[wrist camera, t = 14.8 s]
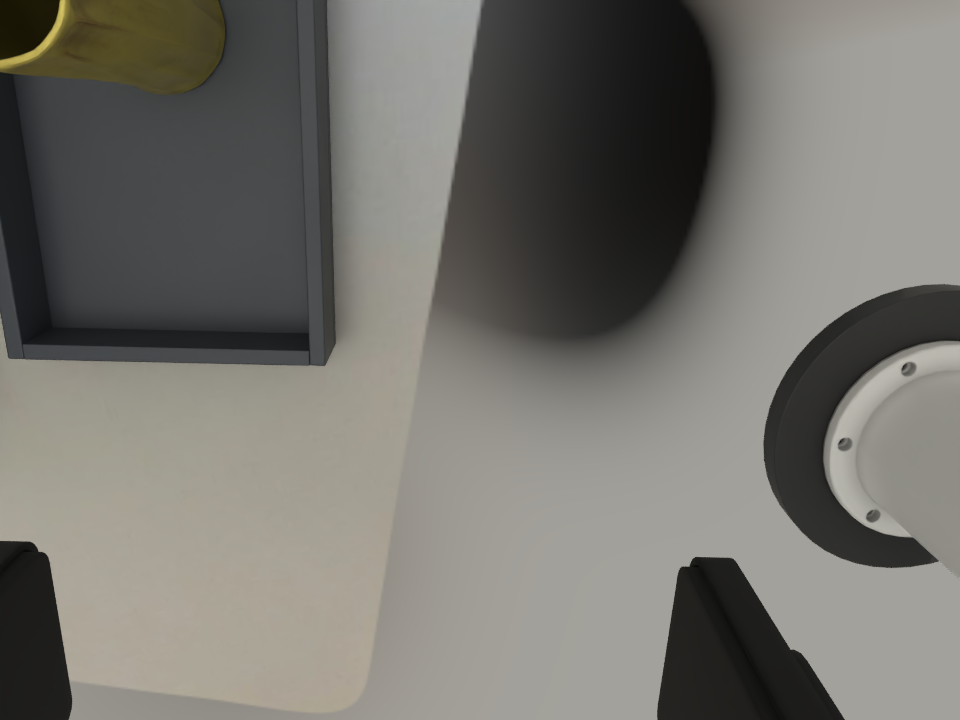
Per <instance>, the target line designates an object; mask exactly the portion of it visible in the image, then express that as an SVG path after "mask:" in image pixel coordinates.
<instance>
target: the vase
mask: <svg viewBox="0 0 960 720" xmlns="http://www.w3.org/2000/svg"><path fill="white" fill-rule="evenodd" d="M224 43H225V23H224V18H223V13H222V10H221V7H220V4H219V2H218V0H0V72H3V73H10V74H19V75H29V76H45V77H59V78H72V79H88V80H97V81H105V82H114V83H120V84H126V85H132V86H135V87H137V88H139V89H141V90H144V91H146V92H150V93H155V94H161V95H175V94H181V93H184V92H187V91H189V90H192V89H194V88H196V87H198V86H199V85H201V84H202V83H203V82H204V81H205V80H206V79H207V78H208V77H209V76H210V74H211V73H212V72H213V71H214V69H215V68H216V66H217V65H218V63H219V61H220V59H221V56H222V53H223V49H224Z"/></svg>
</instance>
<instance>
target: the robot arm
mask: <svg viewBox="0 0 960 720" xmlns="http://www.w3.org/2000/svg"><path fill="white" fill-rule="evenodd" d="M823 465H824V472H825V477H826V480H827V482H828V485H829V487H830V489H831V492H832V493H833V495H834V496H835V498H836V499H837V500H838V502H839V503H840V504H841V506H842V507H843V508H844V509H846V510H847V511H848V512H849V513H850V514H851V515H852V516H853V518H855V519H856V520H858V521H859V522H860V523H862V524H863V525H865V526H866V527H868V528H871V529H873V530H876V531H878V532H881V533H883V534H888V535H894V536H899V537H913V538H915V539H916V540H917V541H918V542H919V543H920V544H921V545H922V546H923V547H924V548H925V549H927V550H928V551H929V552H930V553H931V554H932V555H933V556H934V557H935V558H936V559H937V560H939V561H940V562H941V563H942V564H943V565H944V566H945V567H946V568H947V569H948V570H950V572H952V573H953V574H954V575H955V576H956V577H957V578H958V579H959V580H960V341H948V340H941V341H934V342H928V343H922V344H918V345H915V346H912V347H909V348H906V349H903V350H900V351H899V352H897V353H895V354H893V355H891V356H889V357H887V358H885V359H883V360H882V361H880V362H879V363H877V364H876V365H875V366H873V367H872V368H871V369H869V370H868V371H867V372H865V373H864V374H863V375H862V376H861V377H860V378H859V379H858V380H857V381H856V382H855V383H854V384H853V385H852V386H851V387H850V388H849V389H848V391H847V392H846V394H845V395H844V397H843V398H842V399H841V401H840V402H839V404H838V405H837V407H836V409H835V411H834V413H833V415H832V418H831V420H830V422H829V424H828V428H827V431H826V435H825V439H824V445H823ZM71 708H72V695H71V689H70V683H69V677H68V671H67V665H66V659H65V653H64V647H63V641H62V635H61V628H60V622H59V616H58V610H57V604H56V598H55V592H54V586H53V580H52V574H51V568H50V562H49V559H48V556H47V555H46V554H45V553H43V552H38V549H37V547H36V546H35V544H34V543H31V542H20V541H0V720H68V719H69V716H70V712H71ZM657 718H658V720H845V719H844V718H843V716H842V715H841V713H840V712H839V710H838V708H837V707H836V705H835V704H834V702H833V701H832V699H831V698H830V696H829V694H828V693H827V691H826V690H825V688H824V687H823V685H822V683H821V682H820V680H819V679H818V677H817V675H816V674H815V672H814V671H813V669H812V668H811V666H810V664H809V663H808V661H807V660H806V659H805V658H804V656H803V655H802V654H801V653H799V652H797V651H795V650H790V648H789V647H788V645H787V643H786V642H785V640H784V639H783V637H782V636H781V634H780V632H779V631H778V629H777V627H776V626H775V624H774V622H773V621H772V619H771V617H770V616H769V614H768V613H767V611H766V610H765V608H764V606H763V605H762V603H761V601H760V600H759V598H758V596H757V595H756V593H755V592H754V590H753V588H752V587H751V585H750V584H749V582H748V580H747V579H746V577H745V575H744V574H743V573H742V571H741V569H740V568H739V566H738V564H737V563H736V561H735V560H734V559H732V558H710V557H709V558H708V557H695V558H693V559H692V561H691V564H690V567H681V568H680V570H679V573H678V577H677V584H676V591H675V597H674V604H673V610H672V617H671V623H670V629H669V636H668V643H667V649H666V657H665V663H664V669H663V676H662V682H661V688H660V695H659V701H658V710H657Z"/></svg>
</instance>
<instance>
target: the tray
mask: <svg viewBox="0 0 960 720" xmlns="http://www.w3.org/2000/svg"><path fill="white" fill-rule="evenodd" d="M218 2H219V4H220V7H221V10H222V13H223V18H224V23H225V43H224V49H223V53H222V56H221V59H220V61H219V63H218V65H217V66H216V68H215V69H214V71H213V72H212V73H211V74H210V76H209V77H208V78H207V79H206V80H205V81H204V82H203V83H202V84H201V85H199V86H198V87H196V88H194V89H192V90H189V91H187V92H184V93H181V94H175V95H161V94H155V93H150V92H146V91H144V90H141V89H139V88H137V87H135V86H132V85H126V84H120V83H114V82H105V81H97V80H88V79H72V78H59V77H45V76H29V75H19V74H10V73H3V72H0V313H1V319H2V324H3V330H4V336H5V341H6V347H7V352H8V358H10V359H35V360H80V361H125V362H170V363H215V364H260V365H305V366H309V365H315V366H325V365H326V363H327V361H328V359H329V356H330V354H331V352H332V350H333V348H334V346H335V344H336V343H335V305H334V267H333V229H332V191H331V153H330V115H329V77H328V39H327V1H326V0H218Z"/></svg>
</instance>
